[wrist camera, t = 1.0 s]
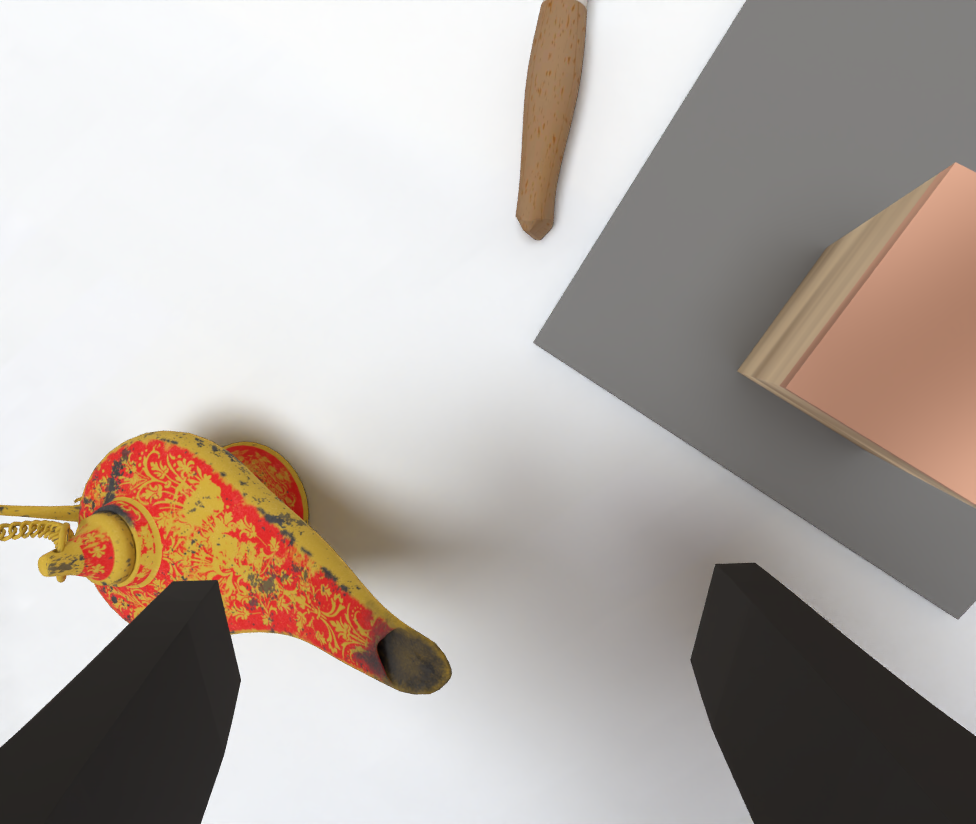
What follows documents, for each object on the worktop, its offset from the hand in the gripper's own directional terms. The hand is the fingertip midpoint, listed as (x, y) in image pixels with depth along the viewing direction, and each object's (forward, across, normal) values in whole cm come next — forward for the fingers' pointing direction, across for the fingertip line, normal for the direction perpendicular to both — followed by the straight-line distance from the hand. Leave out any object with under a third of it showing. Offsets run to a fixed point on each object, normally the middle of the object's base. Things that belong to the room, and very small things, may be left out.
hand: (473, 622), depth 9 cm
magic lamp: (+13, +6, +8) cm, 16 cm away
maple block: (+8, -11, -1) cm, 14 cm away
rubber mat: (+9, -12, -4) cm, 15 cm away
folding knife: (+15, -4, -9) cm, 18 cm away
